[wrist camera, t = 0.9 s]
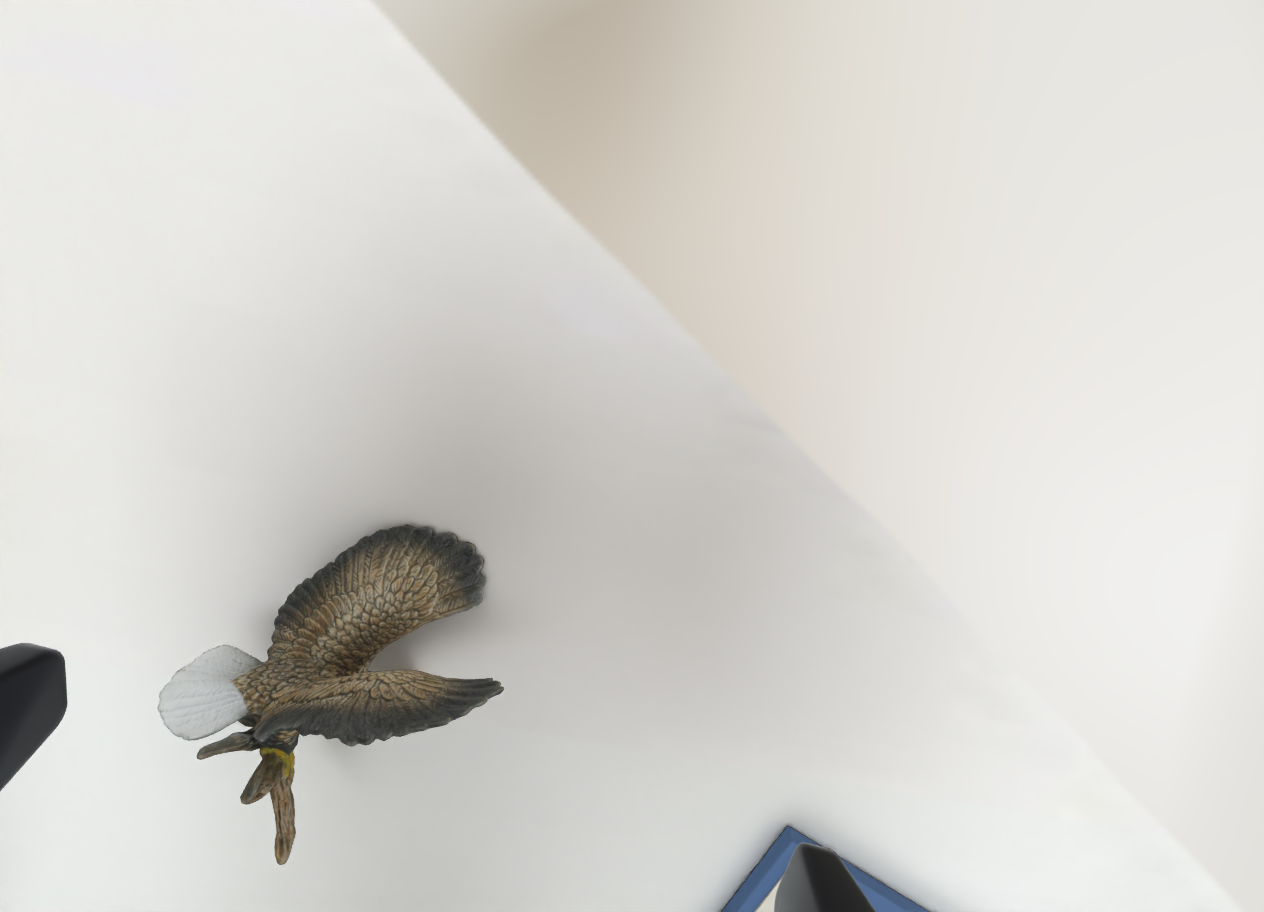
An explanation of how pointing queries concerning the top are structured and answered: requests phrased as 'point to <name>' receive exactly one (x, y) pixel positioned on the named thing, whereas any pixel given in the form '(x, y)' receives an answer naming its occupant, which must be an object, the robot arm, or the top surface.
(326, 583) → the eagle figurine
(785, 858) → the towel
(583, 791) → the top surface
